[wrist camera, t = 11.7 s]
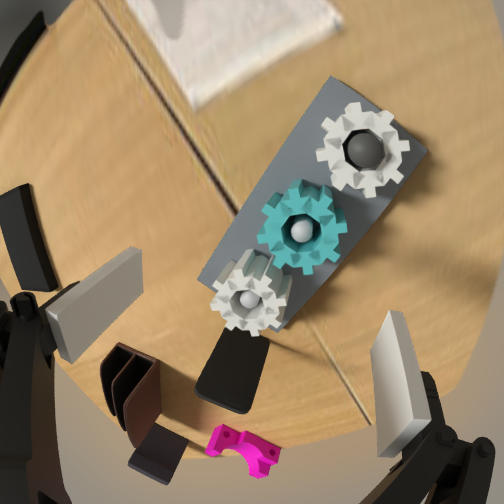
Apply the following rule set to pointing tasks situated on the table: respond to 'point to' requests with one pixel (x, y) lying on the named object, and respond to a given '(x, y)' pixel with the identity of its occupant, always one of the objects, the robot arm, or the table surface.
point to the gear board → (311, 176)
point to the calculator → (159, 454)
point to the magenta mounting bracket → (245, 449)
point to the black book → (25, 241)
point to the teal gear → (279, 228)
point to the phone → (233, 370)
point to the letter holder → (132, 390)
